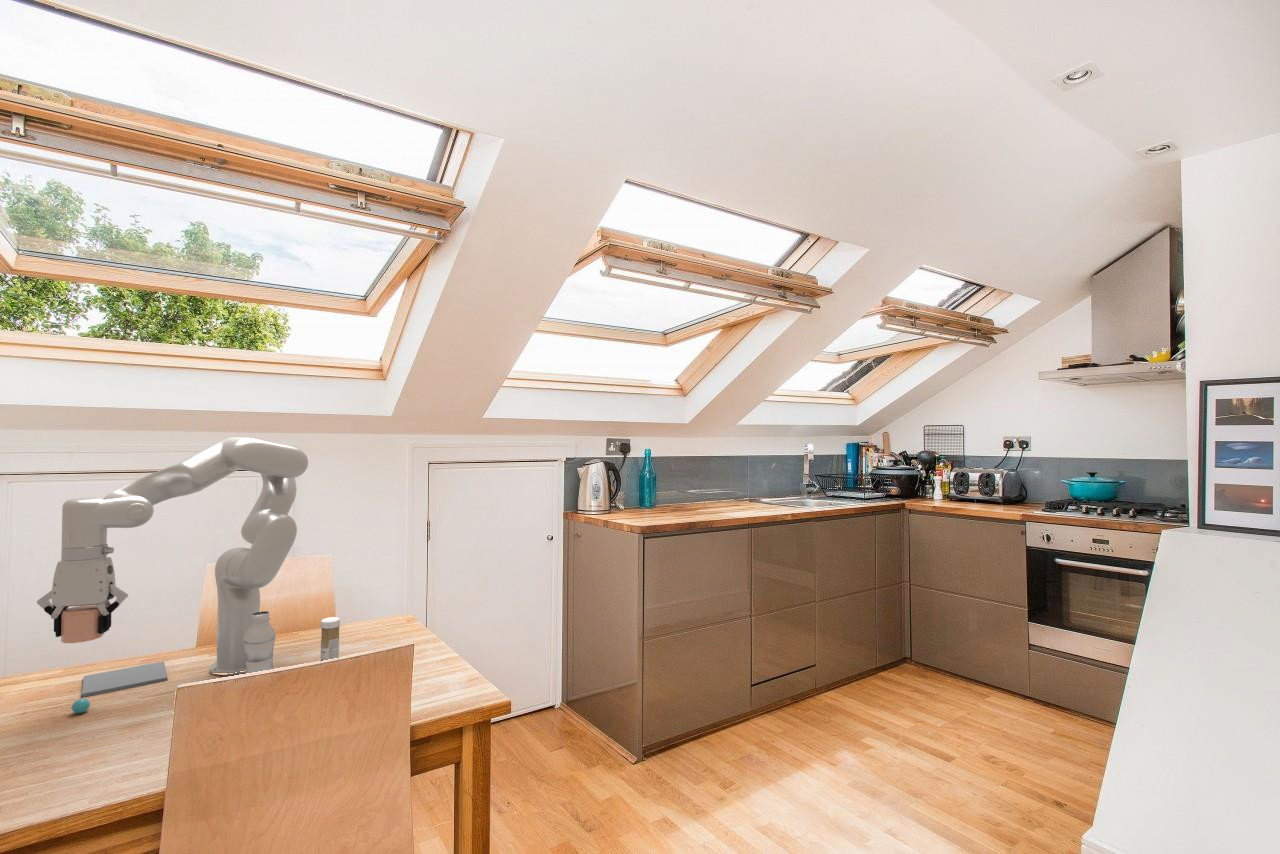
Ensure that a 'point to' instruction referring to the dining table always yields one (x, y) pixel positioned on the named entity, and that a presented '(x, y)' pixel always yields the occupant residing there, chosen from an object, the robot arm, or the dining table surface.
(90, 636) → the peach domed cylinder
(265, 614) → the plastic bottle
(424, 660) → the dining table surface
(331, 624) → the sprinkles bottle
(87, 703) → the teal ball
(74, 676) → the dining table surface
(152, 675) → the slate mat
